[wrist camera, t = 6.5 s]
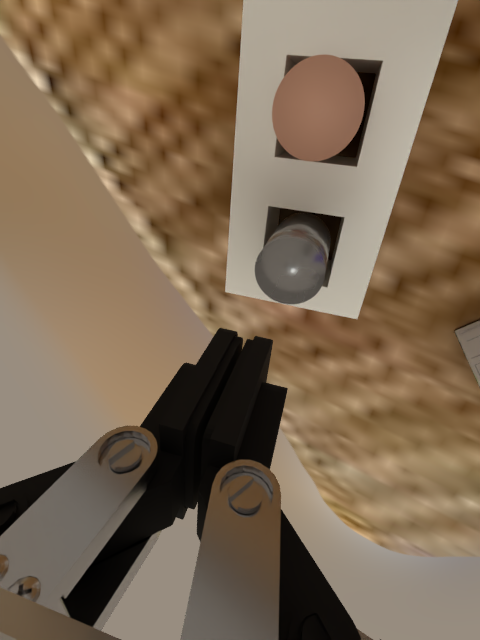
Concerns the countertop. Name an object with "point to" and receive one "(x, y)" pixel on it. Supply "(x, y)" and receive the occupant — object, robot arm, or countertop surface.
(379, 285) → the countertop surface
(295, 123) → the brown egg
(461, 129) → the countertop surface
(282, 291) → the grey domed plug
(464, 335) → the syrup box
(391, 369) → the countertop surface
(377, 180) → the block
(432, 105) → the countertop surface
